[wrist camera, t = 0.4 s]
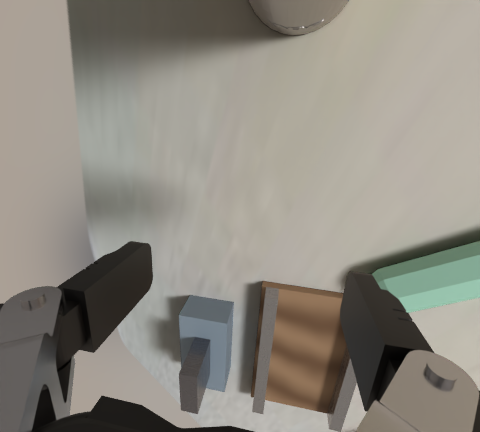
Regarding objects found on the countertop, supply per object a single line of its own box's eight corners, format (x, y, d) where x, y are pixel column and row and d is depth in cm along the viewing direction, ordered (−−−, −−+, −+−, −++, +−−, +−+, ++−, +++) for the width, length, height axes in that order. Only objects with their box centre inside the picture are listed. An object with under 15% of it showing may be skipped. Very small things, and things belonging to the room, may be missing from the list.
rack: (262, 281, 32) (260, 297, 29) (374, 298, 30) (383, 316, 27) (251, 390, 39) (248, 410, 36) (340, 409, 37) (344, 432, 35)
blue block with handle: (190, 294, 35) (159, 349, 27) (234, 301, 34) (215, 361, 26) (192, 357, 39) (166, 422, 31) (230, 365, 38) (214, 434, 30)
